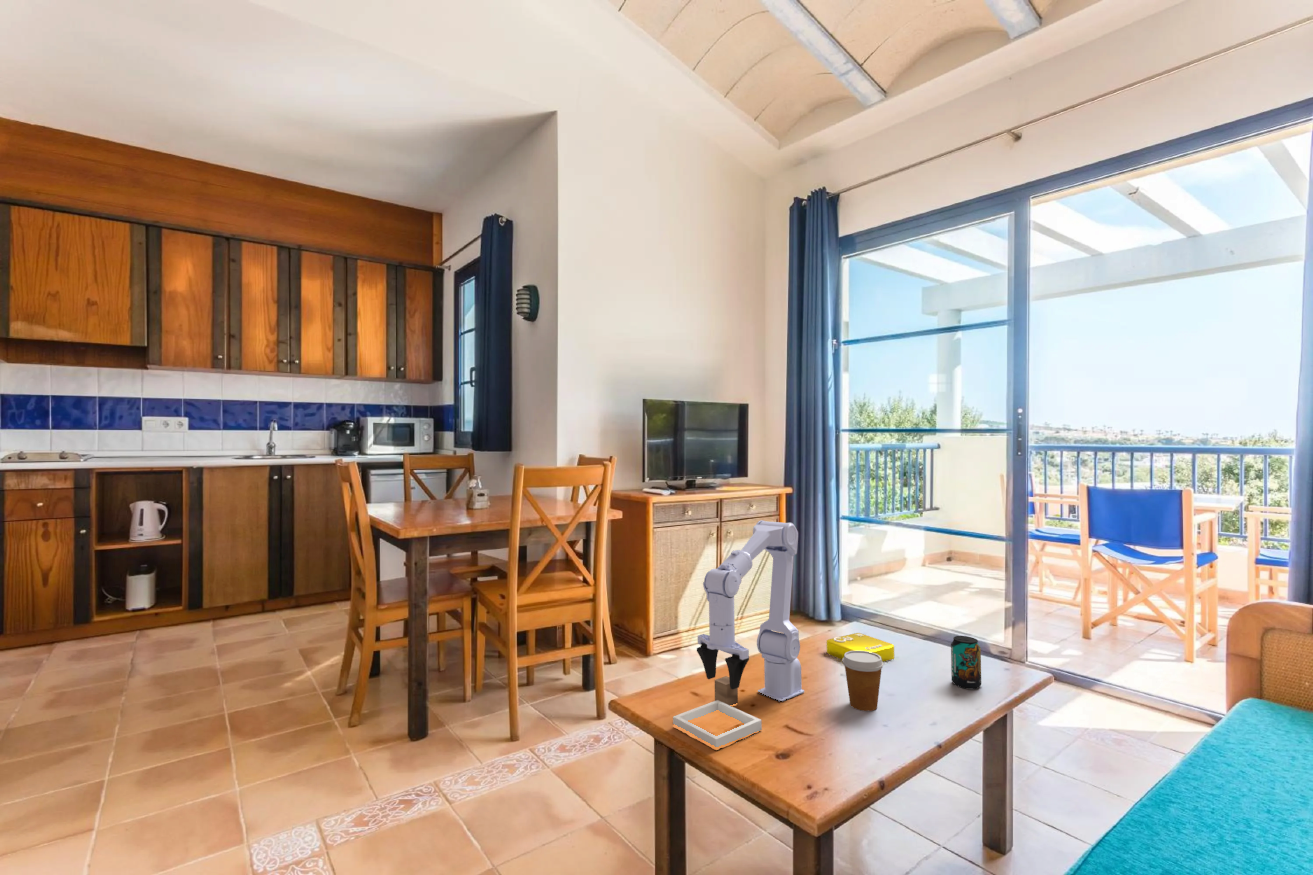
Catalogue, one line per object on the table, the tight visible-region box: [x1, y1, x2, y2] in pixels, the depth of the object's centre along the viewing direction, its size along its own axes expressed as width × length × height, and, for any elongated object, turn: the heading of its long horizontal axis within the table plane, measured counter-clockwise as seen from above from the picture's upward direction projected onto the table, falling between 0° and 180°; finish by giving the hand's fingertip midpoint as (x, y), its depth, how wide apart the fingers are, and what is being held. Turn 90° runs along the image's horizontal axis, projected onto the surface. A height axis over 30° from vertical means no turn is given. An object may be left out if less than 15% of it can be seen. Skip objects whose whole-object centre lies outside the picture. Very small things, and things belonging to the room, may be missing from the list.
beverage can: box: [950, 635, 982, 690], centre depth 160 cm, size 7×7×12 cm
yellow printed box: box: [826, 632, 895, 663], centre depth 183 cm, size 15×15×5 cm
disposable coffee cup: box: [842, 650, 885, 712], centre depth 148 cm, size 10×10×12 cm
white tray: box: [672, 700, 763, 747], centre depth 136 cm, size 14×14×2 cm
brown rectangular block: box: [714, 675, 739, 705], centre depth 149 cm, size 4×4×6 cm
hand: (722, 682), depth 138 cm, fingers open, 7 cm apart
